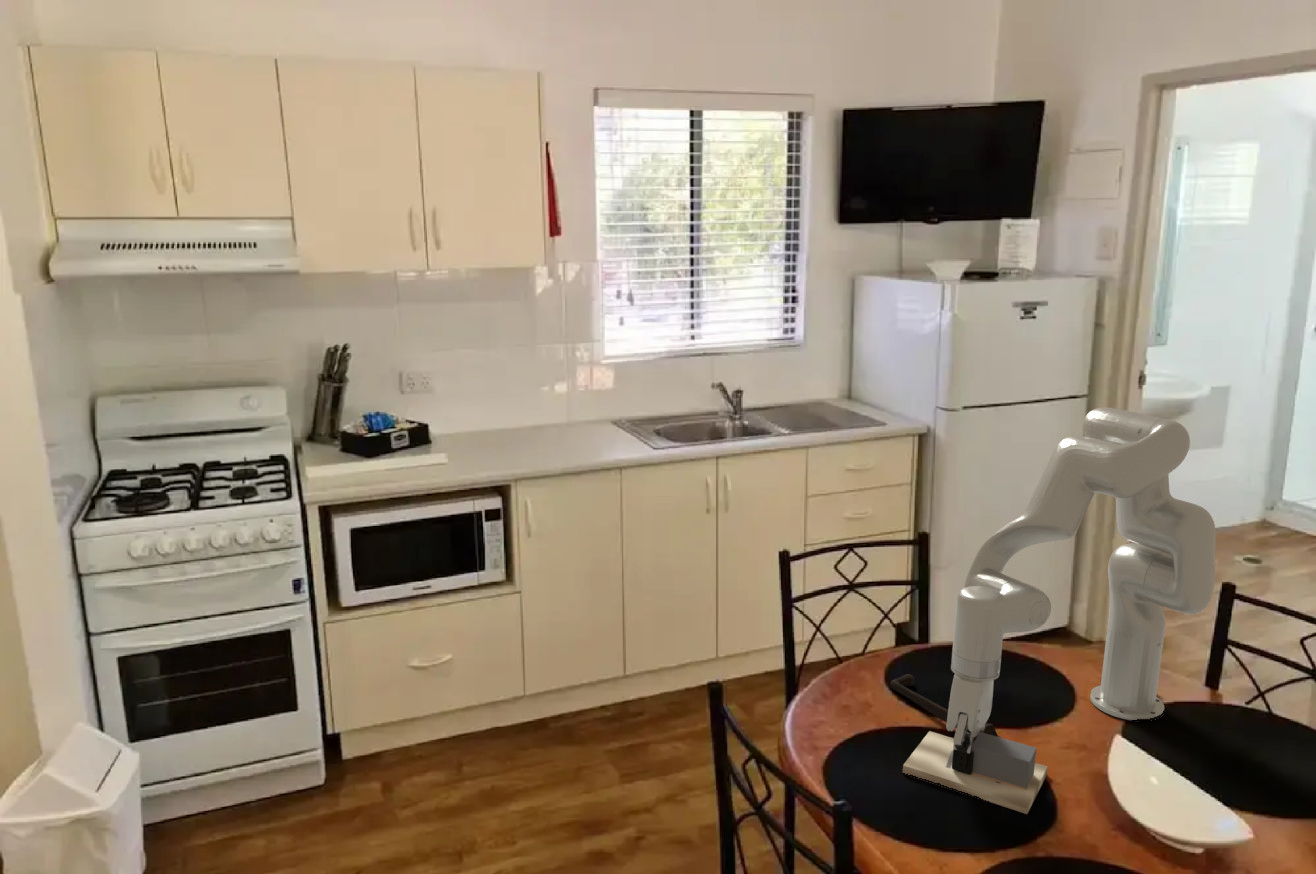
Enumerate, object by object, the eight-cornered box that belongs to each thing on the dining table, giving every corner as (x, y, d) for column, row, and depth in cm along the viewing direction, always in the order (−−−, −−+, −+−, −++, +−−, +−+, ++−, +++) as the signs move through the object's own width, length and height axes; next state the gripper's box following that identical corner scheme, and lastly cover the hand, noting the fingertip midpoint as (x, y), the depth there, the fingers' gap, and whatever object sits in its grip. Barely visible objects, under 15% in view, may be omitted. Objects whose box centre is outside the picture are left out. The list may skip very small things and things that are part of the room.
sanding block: (977, 758, 163) (979, 732, 162) (1033, 775, 159) (1036, 747, 157) (969, 773, 159) (971, 745, 158) (1026, 790, 154) (1029, 762, 153)
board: (928, 738, 172) (929, 731, 172) (1046, 774, 161) (1047, 766, 161) (902, 773, 162) (903, 765, 161) (1027, 814, 151) (1027, 805, 151)
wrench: (909, 690, 193) (1021, 755, 166) (888, 696, 191) (998, 763, 164) (909, 665, 192) (1021, 727, 165) (887, 672, 190) (997, 735, 163)
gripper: (967, 638, 167) (960, 733, 171) (936, 677, 153) (928, 780, 157) (1013, 648, 163) (1004, 746, 167) (984, 690, 149) (975, 795, 153)
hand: (967, 761), depth 162 cm, fingers open, 5 cm apart
